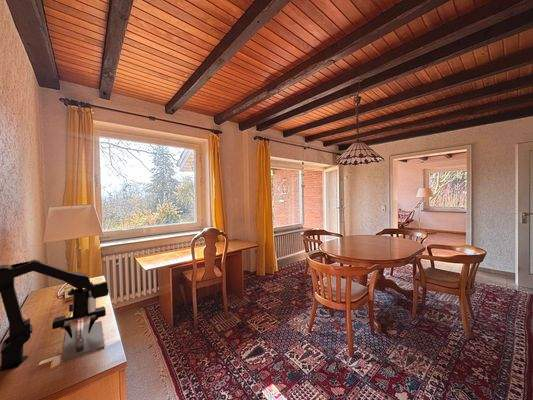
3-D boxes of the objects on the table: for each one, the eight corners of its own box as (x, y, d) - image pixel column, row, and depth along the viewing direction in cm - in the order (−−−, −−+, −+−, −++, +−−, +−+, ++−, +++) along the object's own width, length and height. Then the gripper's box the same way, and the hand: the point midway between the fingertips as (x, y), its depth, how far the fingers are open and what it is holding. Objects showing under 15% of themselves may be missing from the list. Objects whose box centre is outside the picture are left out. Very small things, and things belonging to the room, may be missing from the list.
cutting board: (104, 347, 100) (104, 345, 100) (62, 361, 91) (62, 359, 91) (101, 322, 120) (101, 320, 120) (66, 332, 111) (66, 330, 111)
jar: (74, 313, 129) (74, 292, 129) (90, 307, 136) (91, 287, 136) (81, 317, 125) (81, 295, 125) (98, 311, 132) (98, 290, 132)
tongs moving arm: (83, 346, 98) (83, 337, 98) (80, 347, 98) (80, 338, 98) (83, 325, 114) (83, 318, 114) (80, 326, 114) (81, 319, 114)
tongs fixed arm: (83, 350, 96) (83, 340, 96) (75, 352, 95) (76, 342, 95) (83, 326, 114) (84, 317, 114) (77, 327, 113) (77, 319, 113)
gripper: (104, 291, 116) (103, 321, 116) (55, 301, 105) (54, 334, 105) (105, 298, 108) (105, 331, 108) (52, 310, 96) (51, 346, 96)
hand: (80, 335), depth 104 cm, fingers open, 6 cm apart
